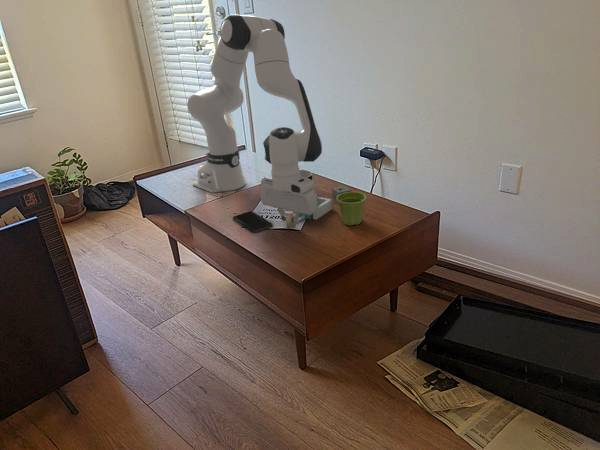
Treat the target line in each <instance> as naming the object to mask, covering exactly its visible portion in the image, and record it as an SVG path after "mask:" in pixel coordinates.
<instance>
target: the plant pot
mask: <svg viewBox="0 0 600 450" xmlns="http://www.w3.org/2000/svg"><path fill="white" fill-rule="evenodd" d="M336 199H337V201H338V204H339V206H338V207H339V210H340V216H341V221H342V222H343V224H344V225H347V226H354V225H359V224H361V223H362V221H363V212H364V204H365V201H366V200H367V195H366V194H365V193H363V192H360V191H351V192H345V193H342V194H339V195H338V196H337V197H336Z"/></svg>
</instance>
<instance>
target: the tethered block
mask: <svg viewBox="0 0 600 450" xmlns="http://www.w3.org/2000/svg"><path fill="white" fill-rule="evenodd" d="M316 197H317V206H318V197H319V196H318V194H317V193H316ZM294 216H295V215H294V214H293V211H287V212H285V217H286V221H285V226H287V227H289V228H288V229H291V228H290V227H293V228H295V227H294V226H296V224H295V223H292V220H291V218H292V217H294ZM299 216H301V217H298V221H299V222H300V220H301V219H302V220H304V219H308V220H311V219H313V214H311V215H307V214H302V213H300V215H299ZM303 218H304V219H303ZM302 220H301V221H302ZM287 227H286V228H287Z"/></svg>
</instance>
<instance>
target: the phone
mask: <svg viewBox="0 0 600 450" xmlns="http://www.w3.org/2000/svg"><path fill="white" fill-rule="evenodd" d="M232 220H233V221H234V222H236V223H237V224H238V225H239V226H241V227H243V228H244V229H246V230H247V231H248V232H250V233H253V234H256V233H259V232H262V231H265V230H268V229H271V228H273V227H272V226H274V225H273V223H272V222H271V221H269V220H267V219H266V218H264V217H263V216H261V215H259V214H258V213H256V212H254V211H251V210H249V211H246V212H243V213H240V214H236V215H234V216H233V217H232ZM270 227H271V228H270Z"/></svg>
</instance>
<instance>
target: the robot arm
mask: <svg viewBox="0 0 600 450" xmlns="http://www.w3.org/2000/svg"><path fill="white" fill-rule="evenodd" d="M285 35H286V34H285V29H284V26H283V25H282V23H281V22H279V21H277V20H275V19H273V18H268V17H267V18H266V17H262V16H257V15H245V14H244V15H243V14H242V15H241V14H237V13H233V14H228V15H226V16H225V18H223V20H222V23H221V26H220V37H219V40H218V42H217V45H216V48H215V50H214V51H215V52H214V55H213V57H212V58H213V59H212V62H211V65H210V71H211V75H212V76H213V77H214V83H213V84H212V86H211V87H208V88H204V89H200V90H198V91H196V92H195V93H193V94H192V95H190V97H188V100H187V111H188V112H189V115H190V116H191V117H192V118H193V119H194V120H196V121H197V122H198V123H199V124H200V125H201V126H202V128H203V130H204V134H205V136H206V140H207V141H206V142H207V148H208V152H207V153H205V154H204V155H205V156H204V157H205V158H207V160H206V162H204V163H203V165H202V166H200V168H198V170H197V179H195V180H194V181H193V182H192V185H193V187H197V188H199V189H202V190H204V191H207V192H209V193H213V194H214V193H220V192H229V191H234V190H237V189H240V188H243V187H244V186H245V185H246V184H247V182H246V177H245V175H244V173H243V170H242V169H243V168H242V165H241V161H240V158H241V157H240V152H239V151H240V150H239V149H238V143H237V136H236V131H235V129H234V128H233V127H231V126H229V125H228V123H227V120H226V119H225V117H226V116H225V115H228V114H230V113H233V112H235V111H236V110H237V109H238V108H241V106H242V105H243V103H244V93H243V91H242V89H241V78H242V75H243V72H244V69H245V66H246V62H247V59H248V56H249V53H252V54H253V62H254V64H253V65H254V72H255V76H256V81H257V84H258V86H259V87H260V88H261V90H262V91H264V92H266V93H267V94H269V95H271V96H274V97H278V98H282V99H285V100H288V101H290V102H291V103H292V104H293V105H294V106H295V107H296V111H297V114H298V116H299V120H300V124H301V127H302V130H299V131H294V129H292V128H291V127H286V126H282V127H276V128H274V129H272V130H271V131H270V132H269V134H268V135H267V137H266V138H265V139H264V141H263V143H262V144H263V148H264V160H265V161H266V162H267V163H269V164H270V165H271V172H270V173H271V178H270V177H267V176H266V177H263V178H262V179H261V181H260V186H261V189H260V201H261V203H262V205H264V206H268V207H273V208H276V210H277V212H278V214H279V215H280V221H282V222H286V217H285V213H286V212H285V211H288V212H293V214H295V215H294V217H292V218H291V220H292V223H295V225H296V224H298V223H299V222H298V218H300V217H299V215H300V213H302V214H307V215H311V214H313V213H315V212H316V210H317V197H318V196H317V197H316V194H317V193H316V191H315V189H314V188H315V186H316V185H315V181H314V180H313V179H312V180H311V179H309V178H307V177H305V176H304V175H302V174H301V173H300V170H301V169H300V166H299V163H300V162H304V163H306V162H312V163H314V162H315V161H316V160H317V159H318V158H320V156H321V155H322V154H323V153H322V152H323V144H322V140H321V137H320V135H319V131H318V130H317V127H316V123H315V120H314V117H313V112H312V109H311V106H310V102H309V99H308V95H307V93H306V89H305V87H304V84H303V83H302V81H301V80H300V79H297V78H296V77H295V75H294V73H293V72H292V70H291V65H290V58H289V53H288V49H287V44H286V42H285V39H286V37H285Z"/></svg>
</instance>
